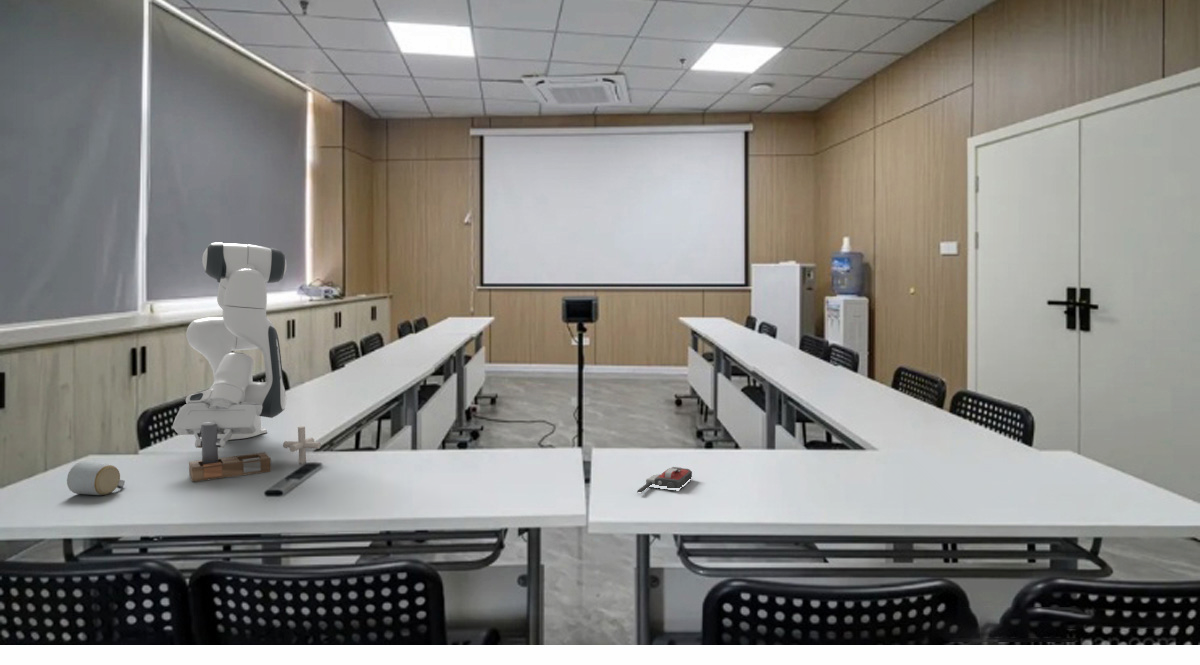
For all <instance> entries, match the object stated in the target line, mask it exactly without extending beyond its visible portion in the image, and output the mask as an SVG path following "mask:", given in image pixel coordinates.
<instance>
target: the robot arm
mask: <svg viewBox="0 0 1200 665" xmlns="http://www.w3.org/2000/svg"><path fill="white" fill-rule="evenodd" d="M201 261H202V267H203V269H204V272H205V273H206V274H207V275H208V276H209V278H213V279H214V280H216V282H217V283H218V289H217V296H216V299H217V300H216V301H217V303H218V304H217V305H218V306H219V307H220V308H221V309H222V316H210V317H208V316H207V317H202V318H198V319H194V320H192V321H191V322H190V323H189V324H188V327H187V329H186V332H185V336H186V340H187V343H188V344H189V346H190V347H191V348H192V349H193V350H194V351H196V352H198V353H199V354H201V355H202V356H203V357H204V358H205V360H206V361H207V362H208V363H209V366H210V368H211V370H212V375H213V384H212V385H210V388H209V389H206V390H204V391H200V392H197V393H192V394H189V395H187V396H186V397H185V403H186V404H184V405H182V406H181V407H180V409H179V410H178V412H177V414H176V415H175V419H174V421H173V423H172V428H173V429H174V431H175V433H177V434H178V435H179V436H180V435H181V436H183V435H184V436H187V435H190V436H193V435H194V437H195V442H194V447H195V448H196V449H198V448H200V449H202V438H201V425H202V423H203V422H210V421H214V422H216V424H217V437H218V439H217V442H216V446H217V447H218V448H225V444H226V443H227V442H228V441H229V440H230V441H231V440H240V439H241V440H242V439H247V438H248V439H249V438H252V437H256V436H259V435H262V434H265V433H268V429H267V428H264V427H263V426H262V418H261V417H263V418H270V419H273V418H275V417H277V416H278V415H280V414H281V413H282V412H284V411H285V409H286V405H287V394H286V389H285V388H286V387H285V382H284V376H283V375H284V374H283V366H282V355H281V348H280V340H279V335H278V332H277V329H276V328H275V325H274V323H273V322H272V321H271V320H270V319H269V318H268V316H267V306H268V304H267V300H268V298H267V297H268V296H267V295H268V294H267V283H268V284H272V283H278V282H281V280H282V279H283V278H284V276H285V274H286V272H287V268H288V267H287V266H288V264H287V259H286V257H285V253H284V252H283V251H282V250H280V249H278V248H277V249H276V248H275V247H270V248H269V247H266V246H261V245H256V244H249V243H248V244H245V243H223V241H222V242H221V241H220V242H219V241H218V242H212V243H210V244H208V245H207V247H206V249H205V250H204V251H203V254H202V259H201ZM256 349H259V350H260V351H261V353H262V355H263V363H264V372H265V379H266V380H265V381H263V382H261V381H254V380H253V368H254V367H253V366H254V358H252V357H251V356H250V355H249V354H245V353H243V352H234V351H242V350H243V351H245V350H248V351H249V350H256Z"/></svg>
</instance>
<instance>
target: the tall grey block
mask: <svg viewBox="0 0 1200 665" xmlns="http://www.w3.org/2000/svg"><path fill="white" fill-rule="evenodd" d="M200 439H202V448H201V457H202V458H201V460H202V466H203V464H211V463H218V458H219V447H217V446H216V442H217V439H218V437H217V424H216V422H214V421H210V422H203V423H202V425H201V437H200Z"/></svg>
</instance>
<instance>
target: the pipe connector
mask: <svg viewBox="0 0 1200 665" xmlns="http://www.w3.org/2000/svg"><path fill="white" fill-rule="evenodd" d="M297 436H298V438H297V439H298V441H289V440H288V441H287V440H285V441H284V442H283V443H282V446H283V448H286V449H289V451H290V452H292V453H294V452H297V451H298V463H299V464H305V462H306V463H307V454H306V453H307V450H306V449H319V450H320V448H321V446H322V444H321V441H315V439H314V438H313V437H309V438H306V426H297Z"/></svg>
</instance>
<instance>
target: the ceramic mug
mask: <svg viewBox="0 0 1200 665" xmlns="http://www.w3.org/2000/svg"><path fill="white" fill-rule="evenodd" d="M66 478H67V479H66V484H67V488H68V490H69V491H71V492H72V493H73V494H77V495H91V496H106V495H110V494H111V493H113V492H114V491H115V490H116V489H117V488H123V487H124V485H125V483H126V482H125V480H123V479H121V473H120V470H119V469H118V468H117V467H116V466H114V465H112V464H109V463H101V462H96V461H91V460H81V461H78V462H77V463H75V464H74V465H73V466H72V467H71V468H70V470H69V471H68V474H67V477H66Z"/></svg>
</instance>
